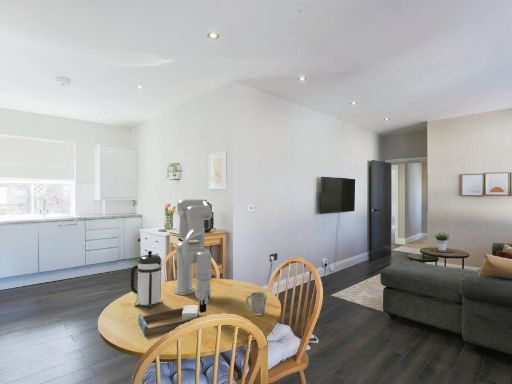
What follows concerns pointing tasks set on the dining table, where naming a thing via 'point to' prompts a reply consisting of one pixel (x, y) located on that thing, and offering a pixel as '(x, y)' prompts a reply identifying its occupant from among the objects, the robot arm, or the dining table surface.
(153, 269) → the coffee press
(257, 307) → the mug
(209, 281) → the robot arm
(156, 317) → the bay
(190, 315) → the silver block
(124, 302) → the dining table surface
